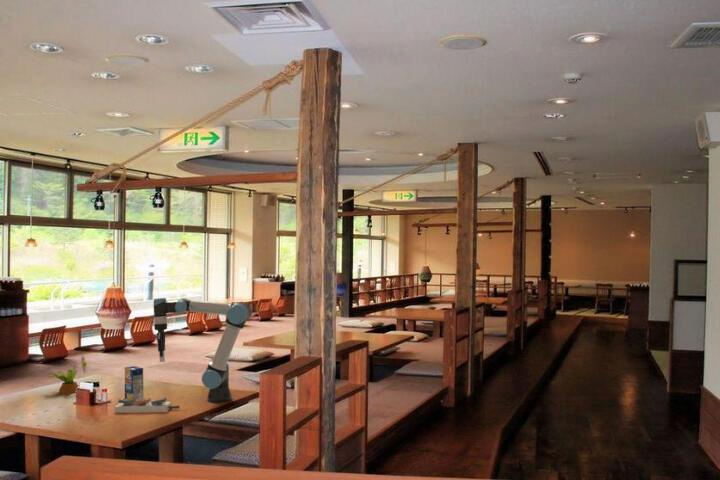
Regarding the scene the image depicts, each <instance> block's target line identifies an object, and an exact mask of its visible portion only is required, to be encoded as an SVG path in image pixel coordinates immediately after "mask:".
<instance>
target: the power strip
mask: <svg viewBox="0 0 720 480" xmlns="http://www.w3.org/2000/svg"><path fill="white" fill-rule="evenodd" d="M151 402H152V401H150V402H148V403H142V404H136V405H135V402H134V404H132V405H129V404H124V403H118V404H116V405H115V406H114V413H115V414H119V413H120V414H121V413H122V414H123V413H125V414H127V413H128V414H129V413H130V414H131V413H132V414H133V413H168V411H169V410H173V409H175V410H177V409H180V405H172V401H165V402H162V403H157V404H153V405H151Z"/></svg>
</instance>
